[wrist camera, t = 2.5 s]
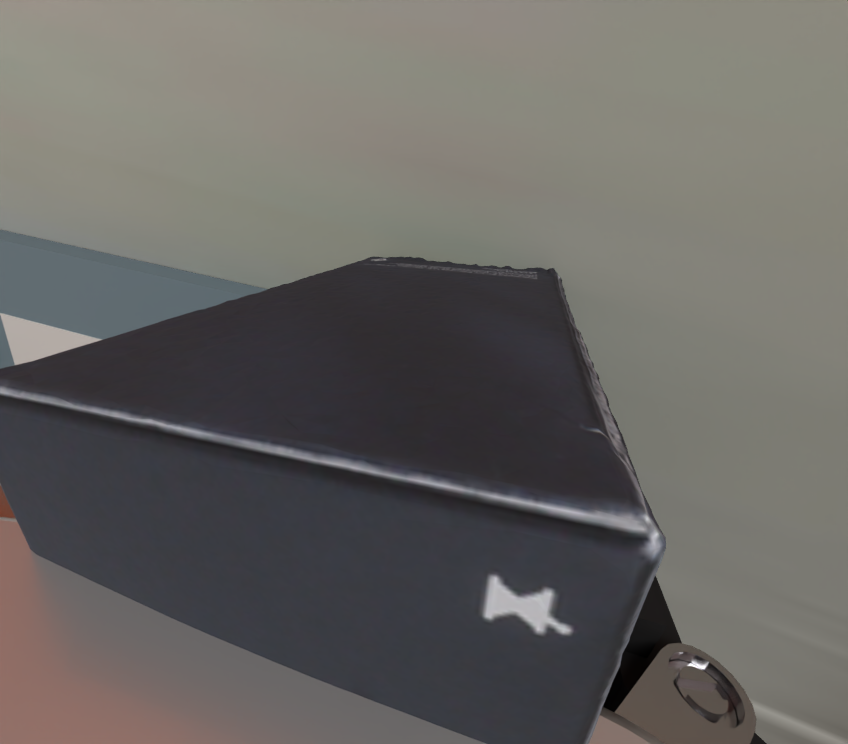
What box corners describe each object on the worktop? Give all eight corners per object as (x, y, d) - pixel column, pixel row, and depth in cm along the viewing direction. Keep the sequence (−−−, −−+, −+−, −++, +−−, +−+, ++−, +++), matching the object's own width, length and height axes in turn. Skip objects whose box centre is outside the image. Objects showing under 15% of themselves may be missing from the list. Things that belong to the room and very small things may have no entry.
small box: (356, 250, 13) (-122, 356, 3) (565, 267, 12) (755, 516, 2) (359, 507, 17) (149, 883, 7) (514, 540, 16) (499, 1045, 6)
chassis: (292, 294, 14) (172, 337, 9) (285, 624, 21) (217, 742, 16) (-62, 216, 16) (-300, 217, 12) (41, 536, 23) (-79, 617, 19)
